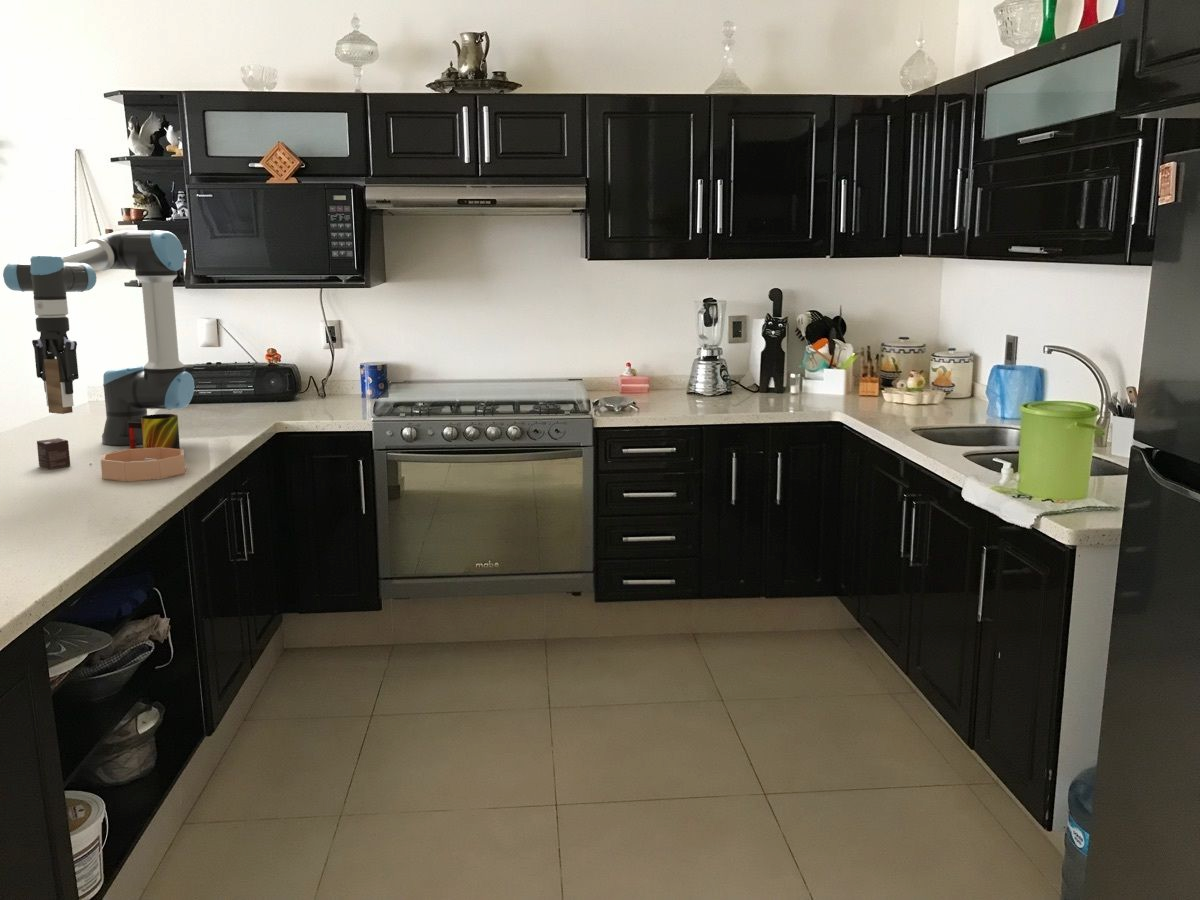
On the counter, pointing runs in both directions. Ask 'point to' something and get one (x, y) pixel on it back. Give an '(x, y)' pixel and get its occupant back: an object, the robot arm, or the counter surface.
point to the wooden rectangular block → (54, 387)
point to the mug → (157, 431)
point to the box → (53, 453)
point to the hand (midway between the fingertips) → (60, 405)
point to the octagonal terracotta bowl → (143, 464)
